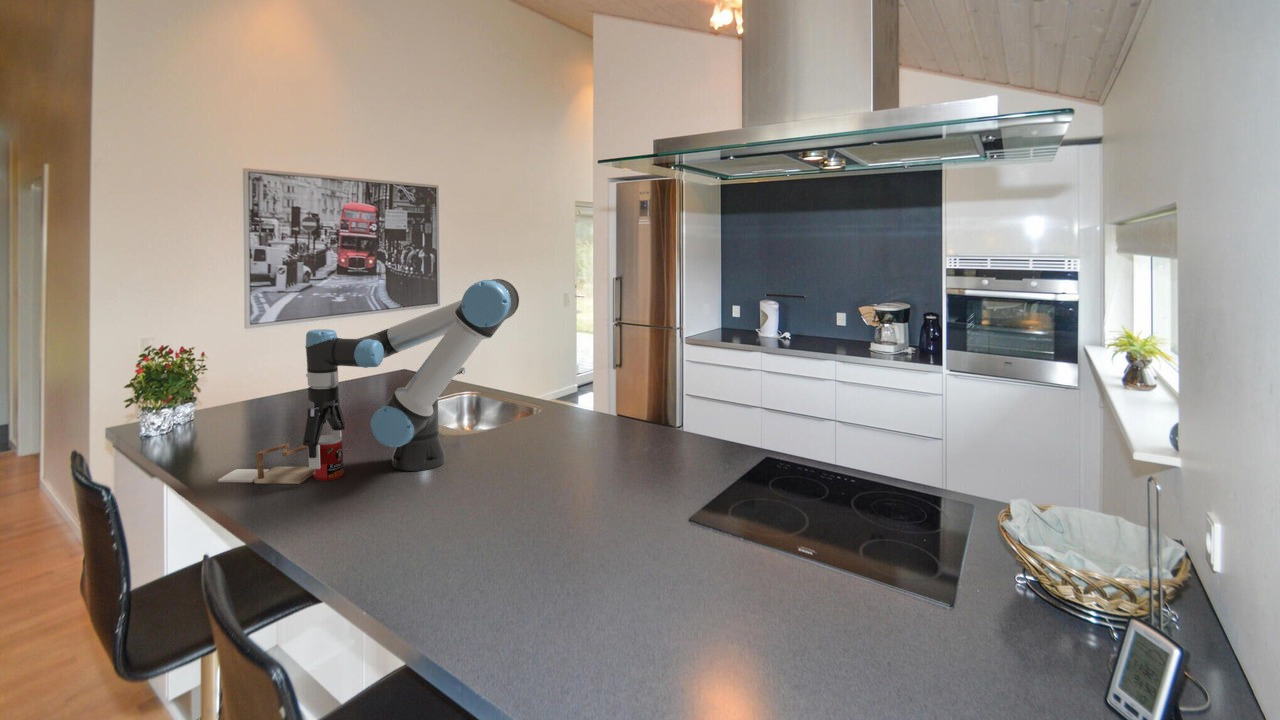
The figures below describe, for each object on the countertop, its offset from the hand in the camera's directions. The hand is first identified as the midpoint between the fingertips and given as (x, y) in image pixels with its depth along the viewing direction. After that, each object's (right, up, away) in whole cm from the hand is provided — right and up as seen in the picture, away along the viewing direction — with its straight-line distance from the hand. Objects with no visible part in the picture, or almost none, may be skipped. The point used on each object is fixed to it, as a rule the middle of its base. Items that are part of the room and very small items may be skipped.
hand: (326, 460), depth 174 cm
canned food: (0, -5, +1) cm, 5 cm away
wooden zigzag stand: (-11, -4, 0) cm, 12 cm away
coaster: (-22, -4, -1) cm, 23 cm away
